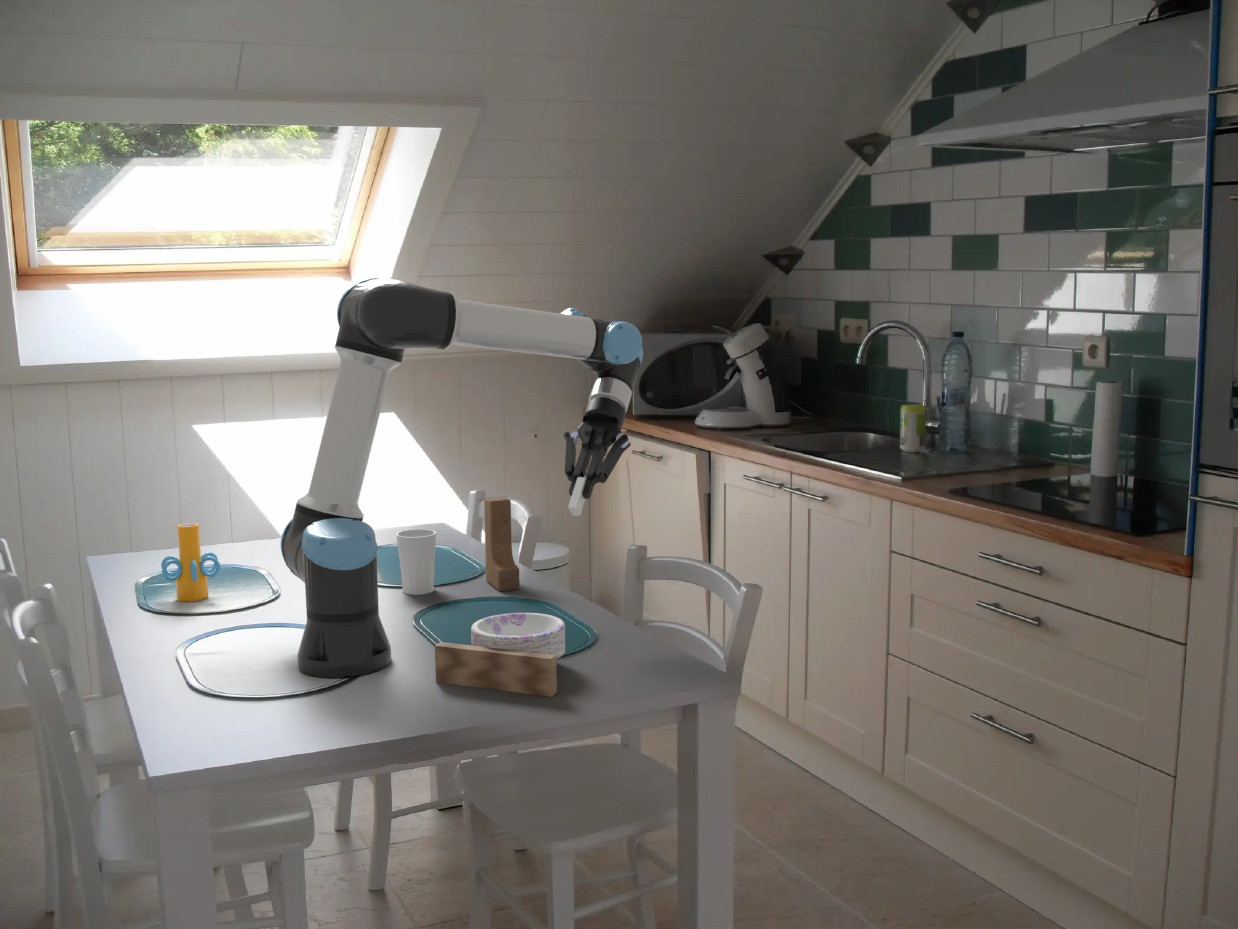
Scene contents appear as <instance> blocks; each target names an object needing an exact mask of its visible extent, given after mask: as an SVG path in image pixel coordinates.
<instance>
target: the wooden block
mask: <svg viewBox="0 0 1238 929" xmlns="http://www.w3.org/2000/svg"><path fill="white" fill-rule="evenodd" d="M483 501H484V502H483V504H484V505H483V507H484V509H483V510H484V538H485V539H484V542H485V543H484V545H485V546H484V549H485V576H486V577H485V580H486V582H487V583H488V584H489V585H491V586H492V587H493V588H494V589H495V590H497V591H499V592H508V591H513V590H514V591H516V590H519V589H520V568H519V567H518V566H517V564H516V563H515V559H514V557H513V556H514V555H513V548H512V546H513V545H512V544H513V543H512V542H513V541H512V507H511V506H512V503H511V499H510V498H508V497H506V496H504V495H501V496H489V497H488V496H487V497H485V498H484V499H483Z"/></svg>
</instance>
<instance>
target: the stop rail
mask: <svg viewBox="0 0 1238 929" xmlns="http://www.w3.org/2000/svg"><path fill="white" fill-rule="evenodd" d="M434 656H435V657H434V661H435V662H434V663H435V682H436V683H440V684H448V685H455V684H457V686H463V687H472V688H480V689H487V690H493V691H494V690H496V691H503V692H511V693H518V694H519V693H520V694H526V695H534V696H543V697H551V698H552V697H554V695H556V694H557V692H558V683H557V682H558V679H557V677H558V676H557V674H558V671H557V665H558V664H557V659H556V655H551V654H542V653H533V652H524V651H516V650H507V649H498V648H489V647H481V646H472V644H471V645H470V644H464V643H463V644H462V643H461V644H460V643H453V642H444V641H440V642H438V643H436V644H435V645H434Z"/></svg>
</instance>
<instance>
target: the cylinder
mask: <svg viewBox="0 0 1238 929" xmlns="http://www.w3.org/2000/svg"><path fill="white" fill-rule="evenodd" d="M176 527H177V538H178V539H177V541H178V555H179V556H178V557H177V556H174V555H168V556H166V557H164V558H163V559H162V560H161V563H160V564H161V565H160V566H161V568H160V569H161V574H162V577H163V578H164V579H165V580H166V581H168V582H174V581H175V588H176V589H175V590H176V600H177V601H179V602H184V603H192V602H199V601H202V600H205V599H208V597H209V581H208V578H215V577H216V576H218V575H219V573H220V572H221V564H220V561H219V558H218V556H217V555H216V554H215V552H212V551H211V552H205V553H203V554H201V541H200V540H201V539H200V537H201V536H200V525H199V523H197V522H187V523H186V522H185V523H181V524H178V525H176ZM207 561H211V562H213V565H212V567H210V568H207V569H206V568H205V563H206V562H207ZM172 564H174V565H176V566H177V570H175V571H174V572H171V571H169V570H168V569H167V568H168V567H169V566H170V565H172Z"/></svg>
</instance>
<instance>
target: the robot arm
mask: <svg viewBox="0 0 1238 929" xmlns="http://www.w3.org/2000/svg"><path fill="white" fill-rule="evenodd" d="M336 315H337V316H336V317H337V318H336V319H337V322H338V327H339V329H338V332H337V336H336V342H335V345H334V349H335V350H336V352H337V355H338V356H339V357H340V364H339V366H338V370H337V375H336V379H335V382H334V387H333V391H332V395H331V400H330V402H329V403H330V404H329V408H328V411H327V415H326V419H325V423H324V428H323V431H322V436H321V439H320V444H319V448H318V452H317V456H316V460H315V465H314V467H313V473H312V477H311V481H310V485H309V490H308V493H307V494H305V495H303V496H302V497H301V498H299V499H297V500H296V505H295V509H294V512H293V516H292V519H291V520H290V521H289V522H288V523H287V524H286V525H285V528H284V529H283V531H282V533H281V538H280V551H281V555H282V558H283V561H284V563H285V566H286V567H287V568H288V569H289V570H290V572H291V573H292V574H293V575H294V576H295V577H297V578H298V579H299V580H301V581H302V582H303V583H304V588H305V589H304V590H305V610H306V622H305V623H306V624H305V627H304V630H303V633H302V637H301V641H300V645H299V649H298V652H297V665H298V666H297V667H298V669H299V671H301V672H302V673H303V674H307V675H310V676H313V677H319V678H344V677H343V676H350V677H357V676H363V675H367V674H370V673H374V672H377V671H380V670H382V669H384V668H386V667H387V666H388V665H390V664H391V662H392V647H391V643H390V641H389V638H388V636H387V633H386V631H385V628H384V626H383V622H382V620H381V617H380V611H379V609H380V608H379V590H378V589H379V585H378V581H379V580H378V558H377V555H378V553H377V552H378V543H377V540H376V534H375V530H374V529H373V527H372V526H371V525H370V524H368V523H366V522H364V520H363V519H364V513H363V512H362V510H361V508H360V507H359V504H358V503H359V499H360V495H361V492H362V487H363V482H364V481H365V476H366V470H367V467H368V463H369V459H370V454H371V451H372V447H373V443H374V439H375V434H376V430H377V426H378V422H379V418H380V415H381V410H382V406H383V402H384V398H385V394H386V390H387V386H388V381H389V377H390V374H391V372H392V370H394V369H396V368H397V367H399V366H401V365H402V361H403V357H404V353H405V349H437V350H447V349H449V348H450V347H451V346H453V345H455V346H461V347H462V346H463V347H472V348H482V349H490V350H499V351H507V352H514V353H515V352H517V353H523V354H533V355H541V356H542V355H543V356H550V357H558V358H565V359H566V358H568V359H575V360H576V361H578V362H579V363H580V364H581V365H583V366H584V367H585V368H587V369H588V370H589V371H591V372H592V373H593V374H595V375H596V376H595V380H594V383H593V385H592V389H591V392H590V394H589V397H588V402H587V404H586V407H585V409H584V413H583V416H582V422H581V424H580V425H578V427H577V429H576V430H575V431H573V432H571V433H570V432H569V431H565V432H564V433H563V438H564V440H565V441H566V442H565V454H564V455H565V456H564V457H565V458H564V474H565V476H566V478H567V480H568V481H569V482H571V483H570V487H569V488H568V493H569V495H570V500H569V503H568V505H567V508H568V510H569V511H570V512H569V513H571V516H576V517H580V516H581V513H582V511H583V508H584V506H585V501H586V499H588V500H589V499H590V498H591V497H592V494H593V491H594V487H595V485H596V484H598V483H601V484H605V483H606V482H607V481H608V478H609V476H610V475H611V473H612V472H613V470H614V468H615V467H616V465H617V463H618V462H619V461H620V459H621V457H622V455H623V453H625V451H626V450H628V449H629V448H630V447H631V445H632V444H631V441H630V439H629V435H627V434H625V433H624V434H623V433H622V427H623V424H624V421H625V419H626V414H627V411H628V408H629V405H630V401H631V398H632V395H633V393H634V390H635V389H634V388H635V385H636V383H637V380H638V376H639V374H640V371H641V369H642V363H643V357H644V349H643V346H642V345H643V338H642V335H641V332H640V330H639V329H638V328H637V327H636V326H635V325H634V324H633V323H630V322H626V321H623V320H611V319H610V320H609V319H603V318H595V317H593V318H592V317H590V316H589V317H587V316H586V314H585V313H584V312H581V311H579V310H578V309H577V308H575V307H568V308H566V309H564V310H563V311H562V312H559V313H558V312H552V311H543V310H538V309H531V308H530V309H529V308H522V307H516V306H515V307H514V306H506V305H502V304H495V303H485V302H478V301H472V300H466V299H464V300H463V299H459V298H457V297H456V295H455V294H454V293H453V292H451V291H443V290H438V289H433V288H429V287H425V286H421V285H418V284H416V283H412V282H409V281H404V280H401V279H394V278H392V279H391V278H389V279H388V278H387V279H386V278H378V277H376V278H375V277H374V278H373V277H372V278H367V279H363V280H360V281H358V282H356V283H355V284H353V285H350V287H348V289H346V290H345V292H344V293H343V294H342V296H341V297H340V299H339V302H338V305H337V311H336ZM579 439H580V440H581V449H580V452H579V455H578V458H577V457H576V456H577V445H578V441H579ZM609 448H610V449H609ZM608 450H609V451H608ZM576 459H577V461H576Z"/></svg>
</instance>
